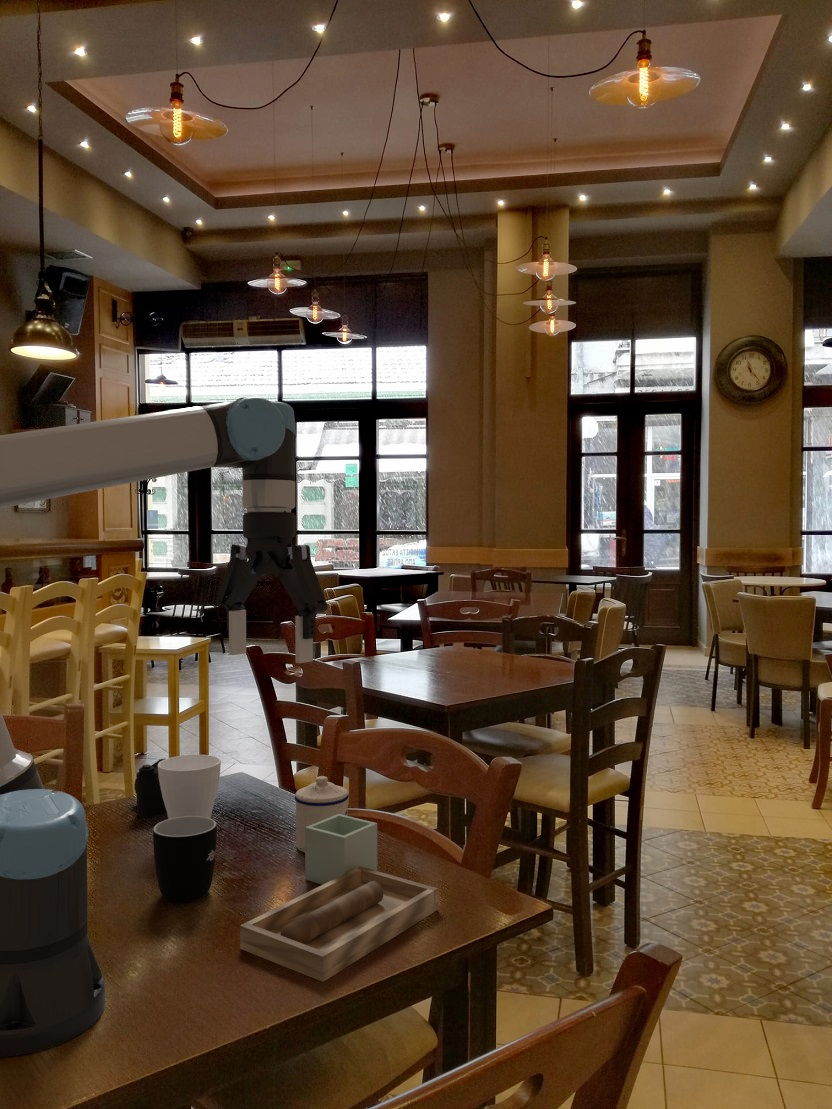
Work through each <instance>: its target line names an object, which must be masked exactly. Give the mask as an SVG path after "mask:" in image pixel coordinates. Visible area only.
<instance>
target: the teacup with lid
mask: <svg viewBox="0 0 832 1109" xmlns="http://www.w3.org/2000/svg"><path fill="white" fill-rule="evenodd" d="M349 797H350V794H349V791H348V790H347V789H346V787H343V786H341V785H336V784H335V783H333V782H331V781H329V779H328V777H327V776H324V775H320V776H316V778H315V782H312V783H310V784H309V785H307V786H305V787H301V788H300V789H298V790H297V791H296V792H295V795H294V801H295V841H296V842H295V846H296V849H297V850H299V851H300V852H302V853H304V854H305V827H307V826H310V825H312V824H315V823H317V822H320V821H322V820H325V819H327V818H329V817H332V816H334V815H337V814H342V815H346V816H349V815H348V813H349V812H348V808H349V807H348V799H349Z"/></svg>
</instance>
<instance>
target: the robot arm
mask: <svg viewBox="0 0 832 1109" xmlns="http://www.w3.org/2000/svg"><path fill="white" fill-rule="evenodd" d="M296 438H297V433H296V419H295V412H294V409H293V407H292V406H291V405H289V404H288V403H286V402H281V401H274V400H271V401H270V400H269V399H267V398H265V397H260V396H251V397H250V396H244V397H240V398H237V399H235V400H232V401H231V400H230V401H226V402H220V403H219V402H218V403H213V404H206V405H202V406H201V405H200V406H198V405H196V406H192V407H185V408H178V409H167V410H164V411H159V412H158V411H157V412H150V413H144V414H137V415H128V416H123V417H117V418H110V419H109V418H108V419H103V420H96V421H88V422H83V423H82V422H81V423H77V424H68V425H63V426H56V427H48V428H41V429H35V430H28V431H21V432H15V433H14V432H13V433H8V434H2V435H1V434H0V509H4V508H10V507H14V506H19V505H25V504H29V503H34V502H40V501H45V500H50V499H55V498H61V497H65V496H70V495H76V494H80V493H85V492H90V491H91V492H92V491H96V490H103V489H106V488H107V489H108V488H111V487H117V486H121V485H126V484H127V485H128V484H132V483H136V482H137V483H138V482H142V481H147V480H152V479H157V478H163V477H167V476H172V475H173V476H174V475H178V474H182V473H188V472H193V471H198V470H203V469H208V468H232V469H241V472H242V476H241V477H242V497H241V498H242V500H241V502H242V504H241V506H242V508H243V509H246V512H244V513H243V514H242V536H243V537H244V538H245V539H247V542H246V543H233V544H231V545H230V555H229V561H228V564H227V567H226V570H225V573H224V576H223V579H222V582H221V584H220V585H221V586H220V588H219V590H218V595H217V597H216V600H215V602H216V605H218V606H222V607H223V608H224V609H225V611H226V629H227V632H228V655H229V656H235V655H236V656H237V655H242V654H243V655H244V654H247V610H246V609H245V608H246V607H245V602H246V601H247V599H248V597H250V594H251V593H252V591H253V590H254V587H255V586H256V585H257V583H258V581H259V579H260V578H262V577H263V576H268V577H275V578H276V579H278V580H279V581H280V582H281V584H282V585H283V587H284V589H285V591H286V592H287V594H288V596H289V598H290V600H291V601H292V602H293V604H294V606H295V608H296V609H297V611H298V613H297V614H296V615H295V616H294V617H295V618H294V620H295V621H294V622H295V626H294V628H295V630H294V631H295V634H294V635H295V636H294V638H295V639H294V640H295V644H294V645H295V663H296V664H304V663H310V662H314V658H313V657H314V656H313V655H314V642H313V641H314V639H315V638H316V635H317V634H316V633H317V632H316V631H317V628H316V627H317V625H316V624H317V622H316V620H317V619H316V618H317V615H318V614H320V613H322V612H325V611H328V609H329V608H328V607H329V606H328V603H327V600H326V598H325V596H324V592H323V590H322V586H321V584H320V581H319V578H318V576H317V573H316V570H315V568H314V565H313V562H312V558H311V557H312V556H311V547H310V545H308V544H294V545H293V543H292V541H293V538H295V537H296V534H297V532H296V524H297V522H296V520H297V518H296V514H295V513H294V512H292V510H293V509H294V508H296ZM12 740H13V739H12V738H11V734H10V732H9V730H8V726H7V724H6V721H5V718H4V716H3V713H2V710H1V709H0V1057H12V1056H13V1057H14V1056H21V1055H27V1054H32V1053H36V1052H40V1051H43V1050H47V1049H50V1048H52V1047H56V1046H58V1045H60V1044H64V1043H65V1042H68V1041H69V1040H71V1039H73V1038H75V1037H77V1036H78V1035H80V1034H82V1033H83V1032H85V1031H86V1030H87V1029H89V1028H90V1027H91V1026H93V1025H94V1024H95V1023H96V1022H97V1020H98V1019H99V1018H100V1017H101V1016H102V1014H103V1011H104V1009H105V1007H106V983H105V978H104V976H103V973H102V970H101V968H100V966H99V963H98V960H97V958H96V955H95V952H94V949H93V946H92V944H91V941H90V939H89V936H88V935H89V934H88V933H89V932H88V928H89V927H88V922H89V921H88V841H89V827H88V824H87V818H86V811H85V809H84V806H83V804H82V803H81V802H80V800H78V799H77V798H76V797H74V796H73V795H71V794H69V793H66V792H64V791H58V792H57V791H56V792H55V791H54V790H53V789H46V788H45V787H44V784H43V782H42V779H41V776H40V774H39V770H38V768H37V766H36V763H35V760H34V757H33V755H32V754H31V753H27V752H25V751H24V750H23V751H22V750H19V749H17V748H15V745H14V743H13V741H12Z"/></svg>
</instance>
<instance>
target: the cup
mask: <svg viewBox="0 0 832 1109" xmlns="http://www.w3.org/2000/svg"><path fill="white" fill-rule="evenodd" d="M164 759H165V760H162V761H161V762H159V764H158V776H159V782H160V787H161V792H162V797H163V800H164V804H165V807H166V810H167V818H168V819H172V818H176V817H184V816H201V817H207V818H210V819H212V814H213V808H214V804H215V801H216V797H217V794H218V793H217V792H218V787H219V782H220V778H221V763H222V761H221V759H220V758H219V757H217V756H214V755H209V754H185V755H184V754H183V755H179V756H178V755H177V756H172V757H168V758H164ZM168 819H167V820H168Z"/></svg>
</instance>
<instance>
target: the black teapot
mask: <svg viewBox="0 0 832 1109" xmlns="http://www.w3.org/2000/svg"><path fill="white" fill-rule="evenodd" d="M165 759H166V758H160V759H158V760H157V761H155V762H154V763H152V764H148V763H147V764H143V765H142V766H141V767H139V768H138V772H136V775H135V776H136V778H135V779H134V791H135V794H136V816H137V817H138V818H143V819H149V818H154V817H158V816H162V815H166V814H167V810H166V807H165V804H164V800H163V797H162V792H161V787H160V782H159V776H158V764H159V762H161V761H162V760H165ZM167 815H168V814H167Z"/></svg>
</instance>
